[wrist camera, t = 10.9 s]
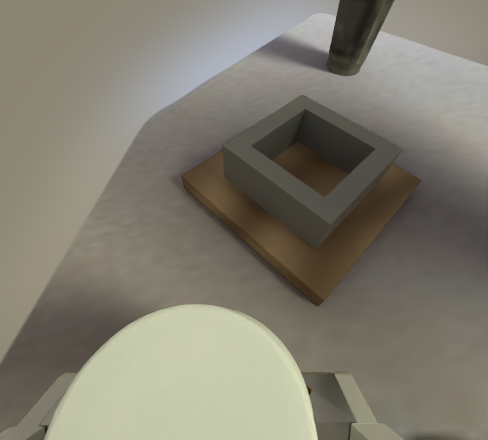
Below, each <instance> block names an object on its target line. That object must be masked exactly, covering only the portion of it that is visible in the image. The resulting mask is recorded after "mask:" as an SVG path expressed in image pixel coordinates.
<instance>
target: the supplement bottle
mask: <svg viewBox="0 0 488 440" xmlns="http://www.w3.org/2000/svg"><path fill="white" fill-rule="evenodd" d="M44 440H318V438H317V432H316V426H315V422H314V416H313V410H312V405H311V401H310V397H309V393H308V390H307V387H306V384H305V382H304V379H303V376H302V374H301V372H300V370H299V368H298V366H297V364H296V362H295V360H294V358H293V357H292V355H291V354H290V352H289V351H288V350H287V348H286V347H285V346H284V344H283V343H282V342H281V341H280V340H279V338H278V337H277V336H276V335H275V334H274V333H273V332H271V331H270V330H269V329H268V328H267V327H266V326H264V325H263V324H262V323H260V322H259V321H257V320H255V319H254V318H252V317H250V316H248V315H246V314H244V313H242V312H239V311H236V310H233V309H228V308H223V307H219V306H213V305H206V304H182V305H176V306H172V307H167V308H163V309H160V310H157V311H155V312H152V313H150V314H147V315H145V316H143V317H141V318H139V319H137V320H135V321H134V322H132V323H130V324H129V325H127V326H126V327H124V328H123V329H121V330H120V331H118V332H117V333H116V334H115V335H113V336H112V337H111V338H110V339H109V340H108V341H107V342H106V343H104V344H103V345H102V346H101V347H100V348H99V349H98V350H97V351H96V352H95V353H94V354H93V355H92V356H91V358H90V359H89V360H88V361H87V362H86V363H85V364H84V366H83V367H82V368H81V370H80V371H79V372H78V374H77V375H76V377H75V378H74V379H73V381H72V382H71V384H70V385H69V387H68V389H67V390H66V392H65V394H64V396H63V397H62V399H61V401H60V403H59V405H58V407H57V409H56V411H55V413H54V415H53V418H52V420H51V422H50V425H49V427H48V430H47V433H46V435H45V438H44Z"/></svg>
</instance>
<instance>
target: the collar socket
mask: <svg viewBox="0 0 488 440" xmlns="http://www.w3.org/2000/svg"><path fill="white" fill-rule="evenodd" d="M402 150H403V149H401V148H400V147H398V146H396V145H394V144H392V143H390V142H389V141H387V140H385V139H383V138H381V137H379V136H378V135H376V134H374V133H372V132H370V131H368V130H366V129H365V128H363V127H361V126H359V125H357V124H355V123H354V122H352V121H350V120H348V119H346V118H344V117H342V116H341V115H339V114H337V113H335V112H333V111H331V110H330V109H328V108H326V107H324V106H322V105H320V104H318V103H317V102H315V101H313V100H311V99H309V98H307V97H306V96H304V95H301V96H299V97H298V98H296V99H295V100H293V101H292V102H290V103H288V104H287V105H285V106H284V107H282V108H281V109H279V110H277V111H276V112H274V113H273V114H271V115H269V116H268V117H266V118H265V119H263V120H262V121H260V122H258V123H257V124H255V125H254V126H252V127H251V128H249V129H247V130H246V131H244V132H243V133H241V134H240V135H238V136H236V137H235V138H233V139H232V140H230V141H229V142H227V143H225V144H224V145H223V150H221V151H220V152H218V153H217V154H215V155H213V156H212V157H210V158H209V159H207V160H206V161H204V162H203V163H201V164H199V165H198V166H196V167H195V168H193V169H192V170H190V171H189V172H187V173H185V174H184V175H182V180H183V184H184V187H185V188H186V189H187V190H188V191H189V192H190V193H191V194H192V195H194V196H195V197H196V198H197V199H198V200H199V201H200V202H201V203H203V204H204V205H205V206H206V207H207V208H208V209H209V210H210V211H212V212H213V213H214V214H215V215H216V216H217V217H218V218H219V219H220V220H222V221H223V222H224V223H225V224H226V225H227V226H228V227H229V228H231V229H232V230H233V231H234V232H235V233H236V234H237V235H238V236H239V237H241V238H242V239H243V240H244V241H245V242H246V243H247V244H248V245H250V246H251V247H252V248H253V249H254V250H255V251H256V252H257V253H259V254H260V255H261V256H262V257H263V258H264V259H265V260H266V261H267V262H269V263H270V264H271V265H272V266H273V267H274V268H275V269H276V270H278V271H279V272H280V273H281V274H282V275H283V276H284V277H285V278H286V279H288V280H289V281H290V282H291V283H292V284H293V285H294V286H295V287H297V288H298V289H299V290H300V291H301V292H302V293H303V294H304V295H306V296H307V297H308V298H309V299H310V300H311V301H312V302H313V303H314V304H316V305H317V306H319V305H320V304H321V303H322V302H323V301H324V300H325V299H326V298H327V296H328V295H329V294H330V293H331V292H332V290H333V289H334V288H335V287H336V285H337V284H338V283H339V282H340V281H341V279H342V278H343V277H344V276H345V274H346V273H347V272H348V271H349V269H350V268H351V267H352V266H353V265H354V263H355V262H356V261H357V260H358V258H359V257H360V256H361V255H362V254H363V252H364V251H365V250H366V249H367V247H368V246H369V245H370V244H371V242H372V241H373V240H374V239H375V238H376V236H377V235H378V234H379V233H380V231H381V230H382V229H383V228H384V227H385V225H386V224H387V223H388V222H389V220H390V219H391V218H392V217H393V215H394V214H395V213H396V212H397V211H398V209H399V208H400V207H401V206H402V204H403V203H404V202H405V201H406V199H407V198H408V197H409V196H410V195H411V193H412V192H413V191H414V190H415V188H416V187H417V186H418V185H419V184H420V182H421V181H422V180H420V179H418V178H416V177H415V176H413V175H411V174H410V173H408V172H406V171H404V170H403V169H401V168H399V167H397V166H396V165H394V164H393V163H394V161H395V160H396V158H397V157H398V156H399V154H400V153H401V151H402Z"/></svg>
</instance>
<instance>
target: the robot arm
mask: <svg viewBox="0 0 488 440" xmlns="http://www.w3.org/2000/svg"><path fill="white" fill-rule="evenodd" d="M77 374H78V373H64V374H62V375H60V376H59V377H58V378H57V379H56V381H55V382H54V383H53V384H52V385H51V386H50V388H49V389H48V390H47V391H46V392H45V393H44V395H43V396H42V397H41V398H40V399H39V400H38V402H37V403H36V404H35V405H34V406H33V408H32V409H31V410H30V411H29V412H28V413H27V415H26V416H25V417H24V418H23V419H22V420H21V422H20V423H19V424H18V425H17V426H16V427H9V428H7V429H6V430H4V431H3V432H1V433H0V440H44V438H45V435H46V433H47V430H48V427H49V425H50V422H51V420H52V418H53V415H54V413H55V411H56V409H57V407H58V405H59V403H60V401H61V399H62V397H63V396H64V394H65V392H66V390H67V389H68V387H69V385H70V384H71V382H72V381H73V379H74V378H75V377H76V375H77ZM301 374H302V376H303V379H304V382H305V384H306V387H307V390H308V393H309V397H310V401H311V405H312V410H313V416H314V422H315V426H316V432H317V438H318V440H404V439H403V438H401V437H400V436H399V435H398V434H396V433H395V432H394V431H393V430H391V429H390V428H389V427H388V426H386V425H385V424H384V423H378V422H377V420H376V419H375V417H374V415H373V413H372V411H371V410H370V408H369V406H368V404H367V402H366V400H365V399H364V397H363V395H362V393H361V391H360V389H359V388H358V386H357V384H356V382H355V380H354V379H353V377H352V375H351V374H350V373H349V372H348V371H345V372H301Z"/></svg>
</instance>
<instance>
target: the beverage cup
mask: <svg viewBox="0 0 488 440" xmlns="http://www.w3.org/2000/svg"><path fill="white" fill-rule="evenodd" d="M393 2H394V0H340V2H339V7H338V12H337V16H336V21H335V26H334V31H333V36H332V41H331V46H330V50H329V58H328V63H327V67H328V69H329V70H331V71H332V72H334V73H336V74H339V75H344V76H351V75H355V74H357V73H358V72H359V70H360V68H361V66H362V64H363V62H364V61H365V59H366V57H367V55H368V53H369V51H370V49H371V47H372V45H373V43H374V41H375V39H376V37H377V35H378V33H379V31H380V29H381V27H382V24H383V23H384V20H385V18H386V16H387V14H388V12H389V10H390V8H391V6H392V4H393Z"/></svg>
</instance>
